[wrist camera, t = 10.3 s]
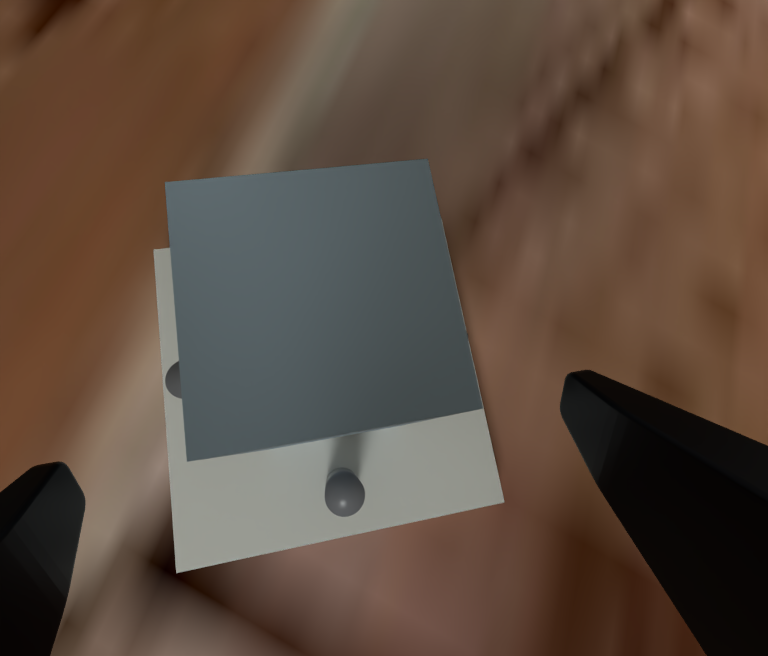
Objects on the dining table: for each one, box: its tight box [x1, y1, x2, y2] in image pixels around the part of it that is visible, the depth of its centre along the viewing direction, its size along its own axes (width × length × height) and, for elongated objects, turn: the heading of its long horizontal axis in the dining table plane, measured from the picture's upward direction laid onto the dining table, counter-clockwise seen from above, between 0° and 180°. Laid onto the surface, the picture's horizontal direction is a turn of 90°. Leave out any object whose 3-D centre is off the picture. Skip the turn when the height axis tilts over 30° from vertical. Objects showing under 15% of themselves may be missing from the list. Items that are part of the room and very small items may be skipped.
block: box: [165, 159, 483, 462], centre depth 13 cm, size 5×5×10 cm
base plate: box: [154, 219, 504, 573], centre depth 17 cm, size 12×12×5 cm
